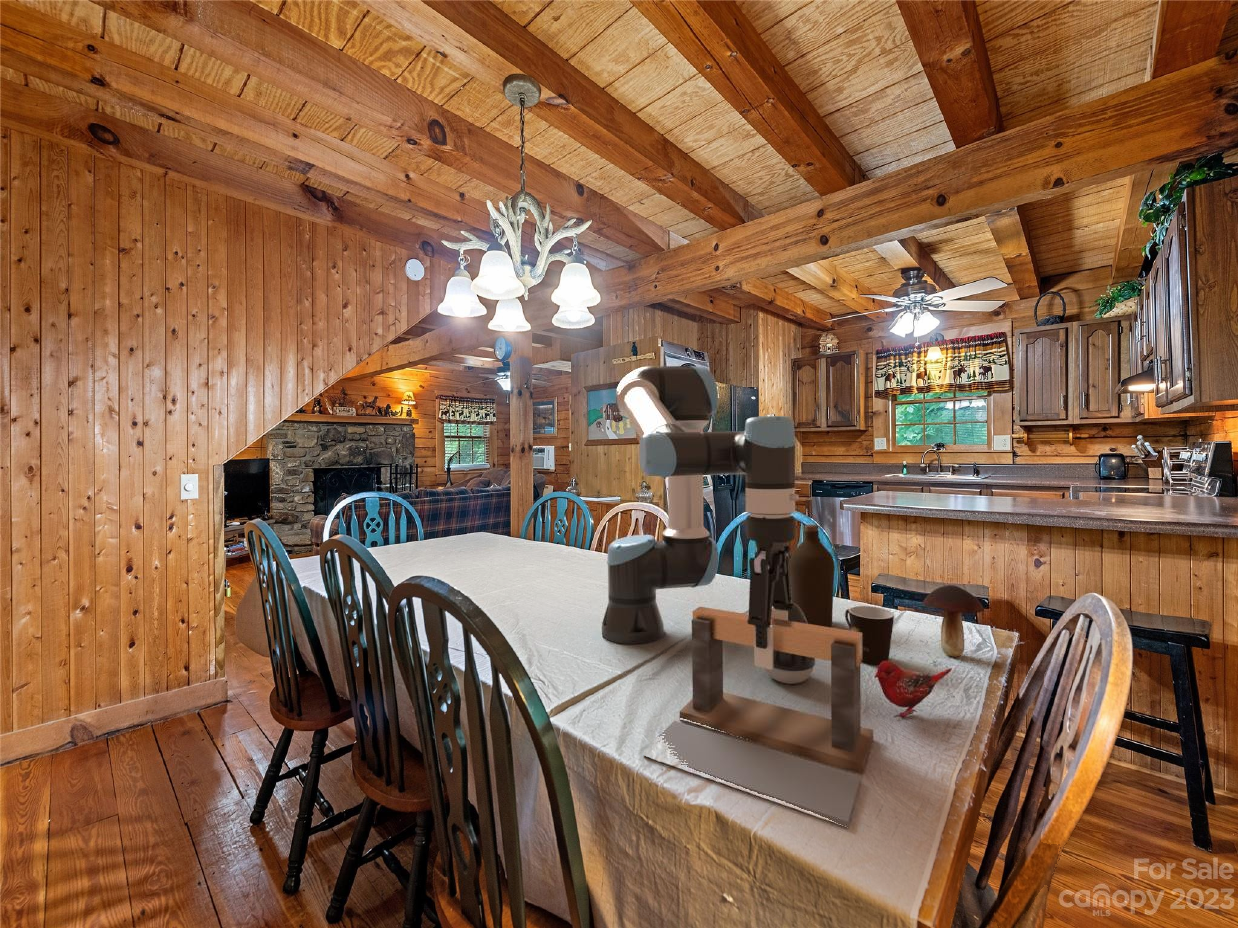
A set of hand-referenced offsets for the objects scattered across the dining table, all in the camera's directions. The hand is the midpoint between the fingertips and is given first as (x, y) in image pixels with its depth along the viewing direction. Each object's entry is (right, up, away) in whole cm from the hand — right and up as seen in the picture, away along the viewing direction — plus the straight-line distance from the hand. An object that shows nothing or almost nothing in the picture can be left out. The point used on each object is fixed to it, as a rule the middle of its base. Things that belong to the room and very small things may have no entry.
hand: (771, 657), depth 84 cm
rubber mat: (-6, -12, -10) cm, 17 cm away
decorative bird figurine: (+25, -11, +4) cm, 28 cm away
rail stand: (0, -12, 0) cm, 12 cm away
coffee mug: (+29, -10, +28) cm, 42 cm away
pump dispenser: (+9, -11, +19) cm, 23 cm away
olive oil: (+25, -10, +49) cm, 56 cm away
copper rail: (0, +2, 0) cm, 2 cm away
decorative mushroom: (+46, -10, +28) cm, 55 cm away
